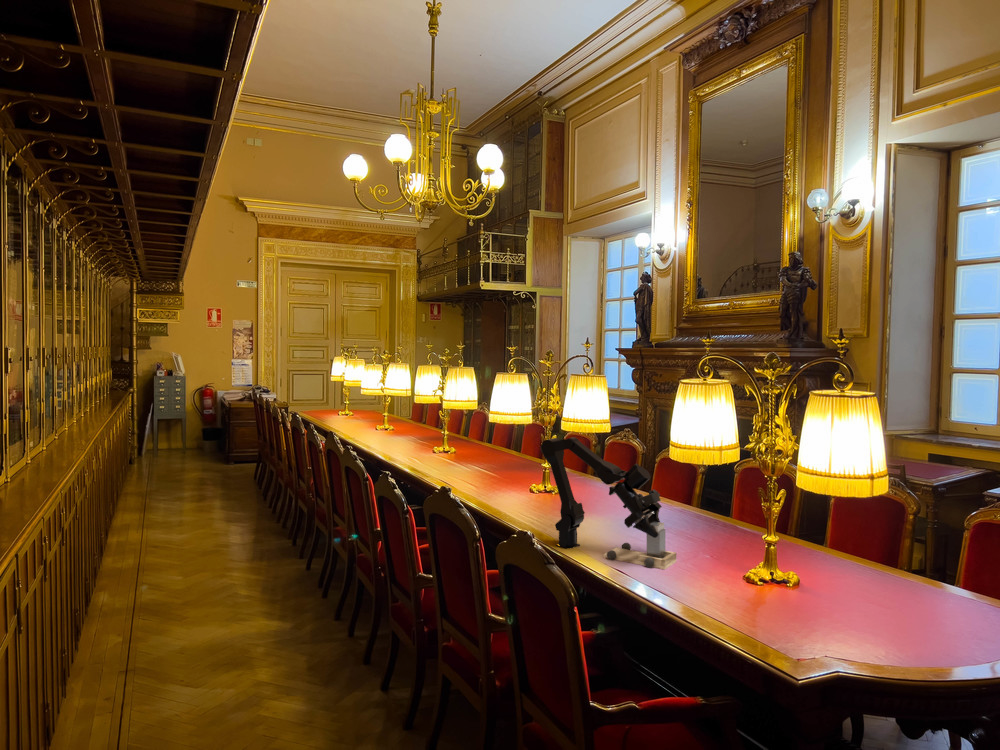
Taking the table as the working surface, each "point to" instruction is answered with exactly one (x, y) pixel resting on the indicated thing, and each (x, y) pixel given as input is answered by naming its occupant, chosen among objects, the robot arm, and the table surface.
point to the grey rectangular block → (656, 541)
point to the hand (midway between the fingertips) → (659, 535)
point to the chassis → (640, 557)
